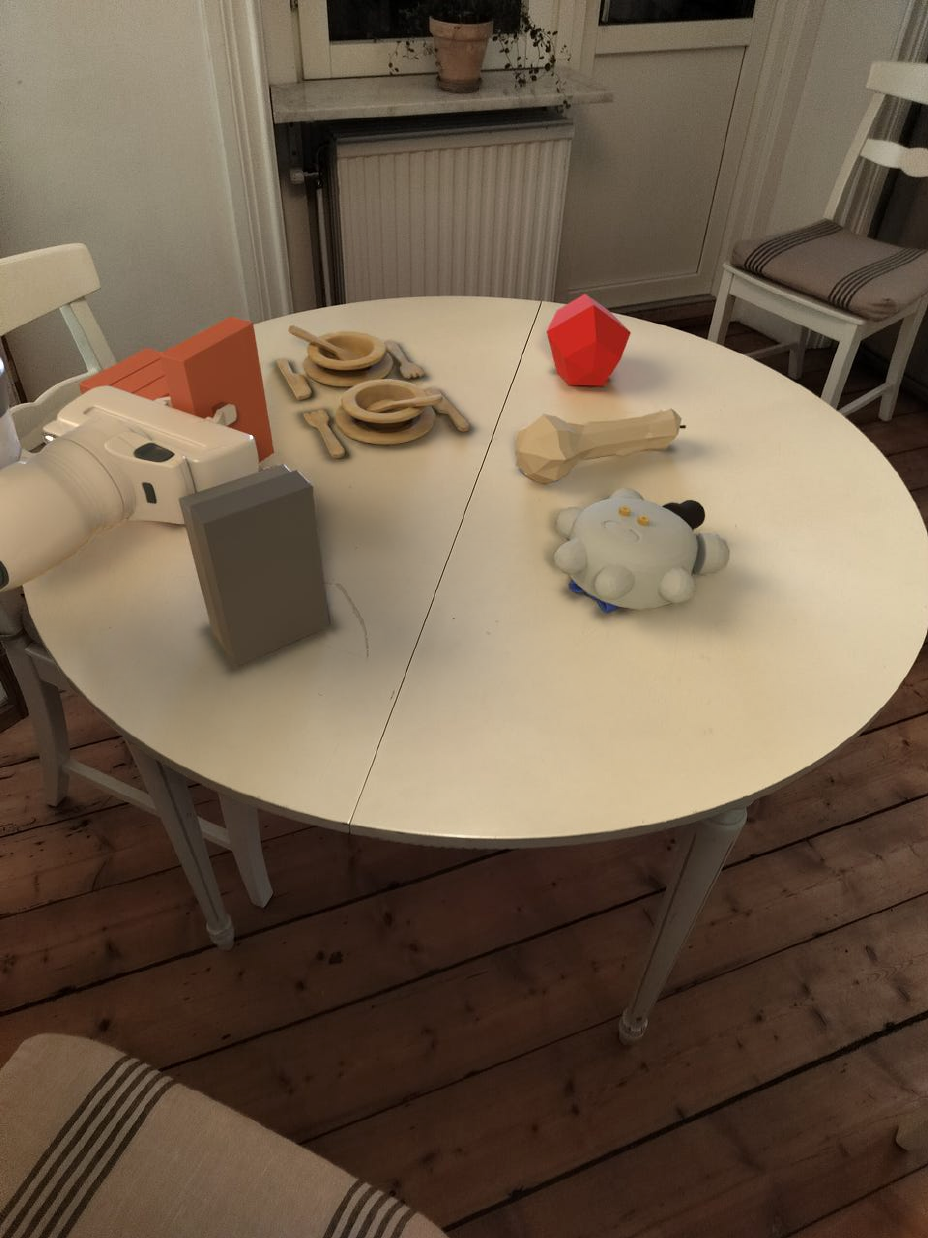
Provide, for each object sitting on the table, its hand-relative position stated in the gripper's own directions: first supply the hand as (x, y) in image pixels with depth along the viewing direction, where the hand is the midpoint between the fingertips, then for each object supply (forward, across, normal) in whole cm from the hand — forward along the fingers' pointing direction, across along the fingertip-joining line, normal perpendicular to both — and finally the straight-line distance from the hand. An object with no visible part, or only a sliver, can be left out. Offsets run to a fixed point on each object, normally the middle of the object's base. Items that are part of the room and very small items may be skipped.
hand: (214, 403), depth 84 cm
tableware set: (+33, -5, -16) cm, 37 cm away
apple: (+55, +19, -16) cm, 60 cm away
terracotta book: (+1, 0, -8) cm, 8 cm away
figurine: (+16, +42, -16) cm, 48 cm away
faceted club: (+34, +31, -16) cm, 49 cm away
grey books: (-11, +14, -16) cm, 24 cm away
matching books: (+2, -11, -16) cm, 19 cm away
